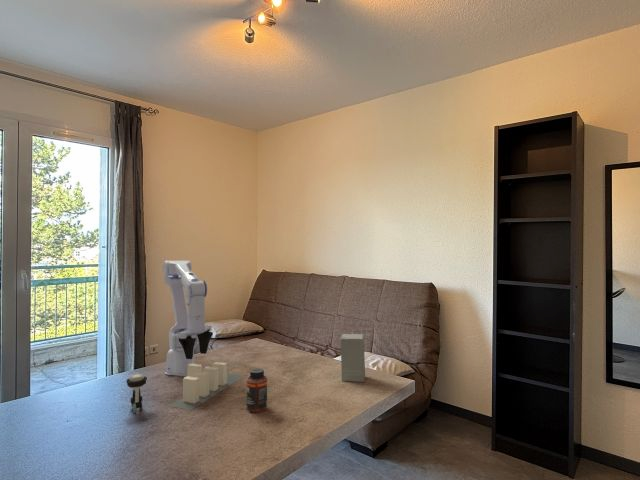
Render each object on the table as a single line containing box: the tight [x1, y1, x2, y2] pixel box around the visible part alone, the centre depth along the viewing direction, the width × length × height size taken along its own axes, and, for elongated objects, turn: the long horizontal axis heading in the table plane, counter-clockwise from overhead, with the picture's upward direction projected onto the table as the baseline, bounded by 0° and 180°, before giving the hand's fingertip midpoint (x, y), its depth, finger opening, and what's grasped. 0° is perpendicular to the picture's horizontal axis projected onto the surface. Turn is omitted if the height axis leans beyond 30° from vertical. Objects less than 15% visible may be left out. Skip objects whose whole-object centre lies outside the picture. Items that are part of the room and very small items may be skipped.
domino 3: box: [182, 376, 199, 403], centre depth 111 cm, size 4×2×7 cm, turn 71°
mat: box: [169, 372, 245, 411], centre depth 120 cm, size 8×30×1 cm, turn 161°
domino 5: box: [212, 361, 228, 386], centre depth 125 cm, size 4×2×7 cm, turn 71°
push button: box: [126, 373, 148, 415], centre depth 105 cm, size 7×5×10 cm
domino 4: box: [203, 365, 219, 391], centre depth 121 cm, size 4×2×7 cm, turn 71°
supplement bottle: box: [246, 367, 268, 413], centre depth 107 cm, size 6×6×11 cm
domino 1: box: [186, 363, 203, 377], centre depth 125 cm, size 4×2×7 cm, turn 71°
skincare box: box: [339, 333, 366, 383], centre depth 132 cm, size 8×7×16 cm
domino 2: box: [194, 371, 209, 397], centre depth 116 cm, size 4×2×7 cm, turn 71°
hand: (196, 356), depth 125 cm, fingers open, 7 cm apart
